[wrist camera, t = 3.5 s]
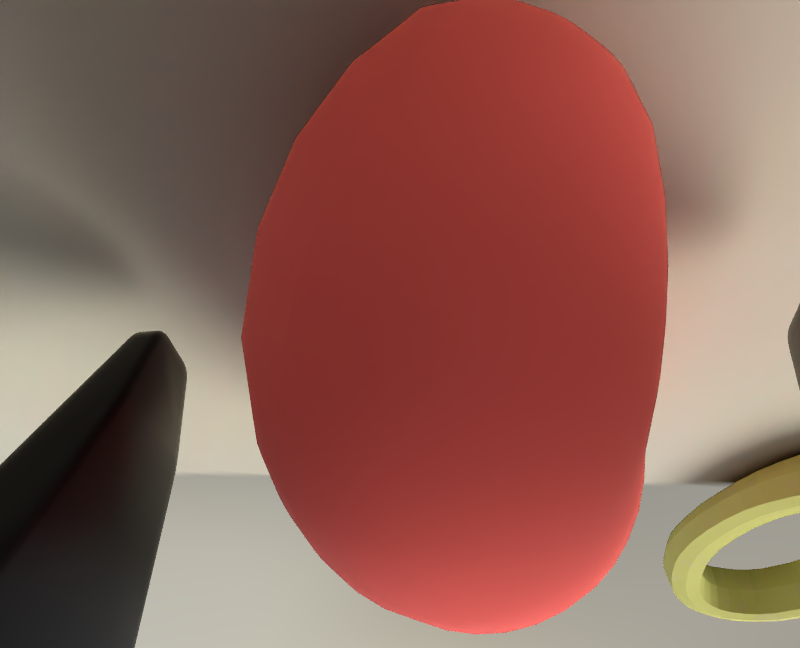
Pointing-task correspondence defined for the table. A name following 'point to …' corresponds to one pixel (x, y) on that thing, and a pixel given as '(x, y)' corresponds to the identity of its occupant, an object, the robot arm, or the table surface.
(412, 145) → the red bean-shaped piece
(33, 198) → the table surface
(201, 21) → the table surface
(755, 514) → the key
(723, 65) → the table surface
